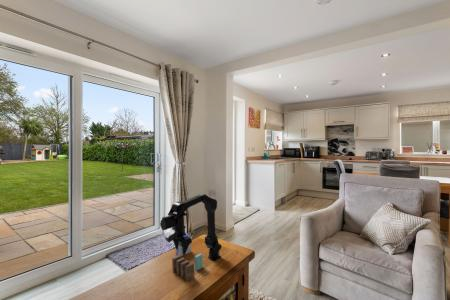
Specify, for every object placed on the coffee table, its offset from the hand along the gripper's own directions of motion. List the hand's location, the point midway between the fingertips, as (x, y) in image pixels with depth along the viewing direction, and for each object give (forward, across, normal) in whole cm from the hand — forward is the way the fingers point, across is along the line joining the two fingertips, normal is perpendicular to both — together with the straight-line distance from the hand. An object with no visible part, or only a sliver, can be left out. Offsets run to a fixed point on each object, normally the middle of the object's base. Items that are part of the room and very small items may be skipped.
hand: (180, 251), depth 123 cm
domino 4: (+14, +6, +2) cm, 16 cm away
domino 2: (+14, -3, +1) cm, 14 cm away
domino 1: (+14, -7, 0) cm, 16 cm away
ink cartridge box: (+14, -23, +13) cm, 30 cm away
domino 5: (+14, 0, +12) cm, 18 cm away
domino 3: (+14, +2, +2) cm, 14 cm away
